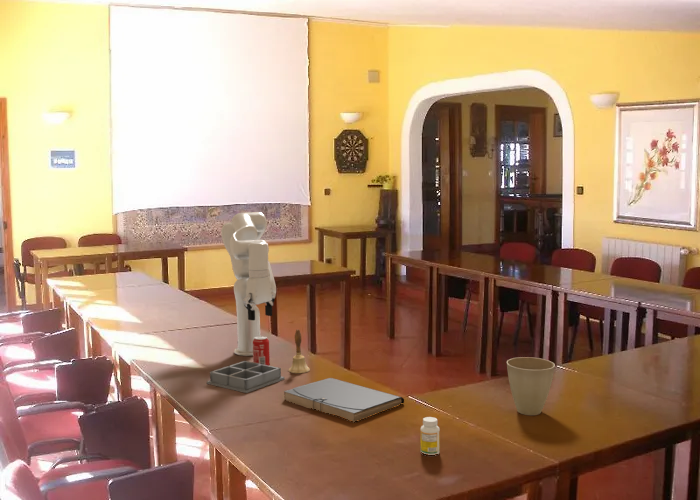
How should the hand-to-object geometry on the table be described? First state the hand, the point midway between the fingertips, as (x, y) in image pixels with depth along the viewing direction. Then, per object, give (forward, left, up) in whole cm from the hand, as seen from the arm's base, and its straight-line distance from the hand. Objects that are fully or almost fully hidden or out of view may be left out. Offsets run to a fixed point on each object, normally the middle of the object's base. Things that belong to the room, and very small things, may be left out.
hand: (260, 317), depth 298 cm
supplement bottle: (+37, +98, -20) cm, 106 cm away
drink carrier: (+17, +8, -20) cm, 27 cm away
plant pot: (-10, +107, -20) cm, 109 cm away
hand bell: (-5, +15, -20) cm, 25 cm away
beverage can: (0, 0, -20) cm, 20 cm away
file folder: (+16, +52, -21) cm, 58 cm away
